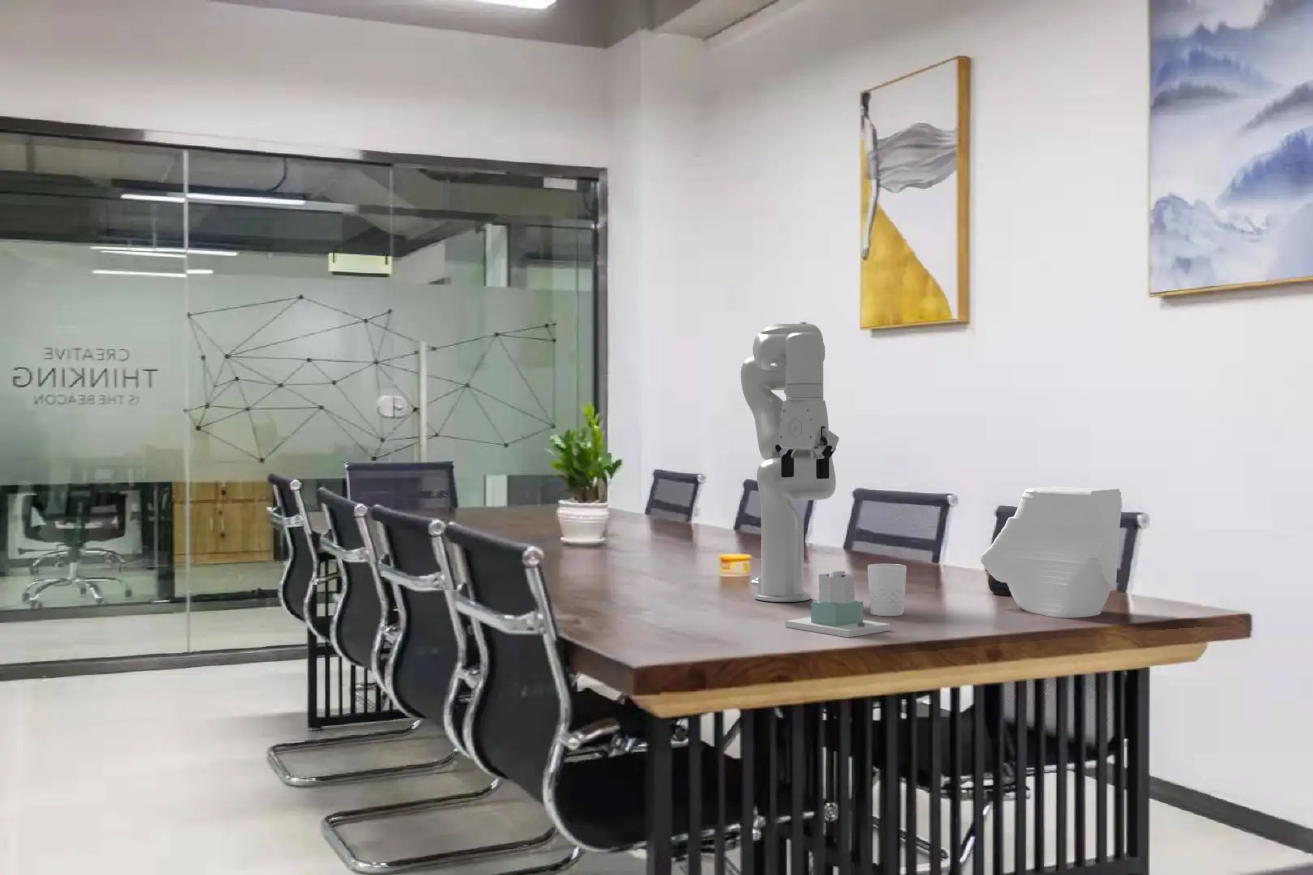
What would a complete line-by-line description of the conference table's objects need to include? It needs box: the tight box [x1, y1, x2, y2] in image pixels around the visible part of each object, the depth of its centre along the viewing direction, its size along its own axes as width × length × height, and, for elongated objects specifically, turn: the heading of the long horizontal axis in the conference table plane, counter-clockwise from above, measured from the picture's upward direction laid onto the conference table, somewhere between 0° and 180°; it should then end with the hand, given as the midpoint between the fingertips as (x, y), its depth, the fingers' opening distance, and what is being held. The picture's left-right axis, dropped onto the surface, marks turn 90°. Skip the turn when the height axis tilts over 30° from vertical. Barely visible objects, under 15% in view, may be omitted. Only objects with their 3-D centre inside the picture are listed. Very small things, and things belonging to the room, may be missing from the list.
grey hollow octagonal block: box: [818, 572, 856, 604], centre depth 245 cm, size 7×7×5 cm
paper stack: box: [979, 485, 1123, 619], centre depth 269 cm, size 21×27×26 cm
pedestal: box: [784, 569, 891, 638], centre depth 245 cm, size 16×12×11 cm
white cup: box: [867, 563, 907, 617], centre depth 263 cm, size 8×8×10 cm
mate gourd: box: [987, 573, 1012, 596], centre depth 293 cm, size 7×8×10 cm
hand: (804, 477), depth 259 cm, fingers open, 9 cm apart
